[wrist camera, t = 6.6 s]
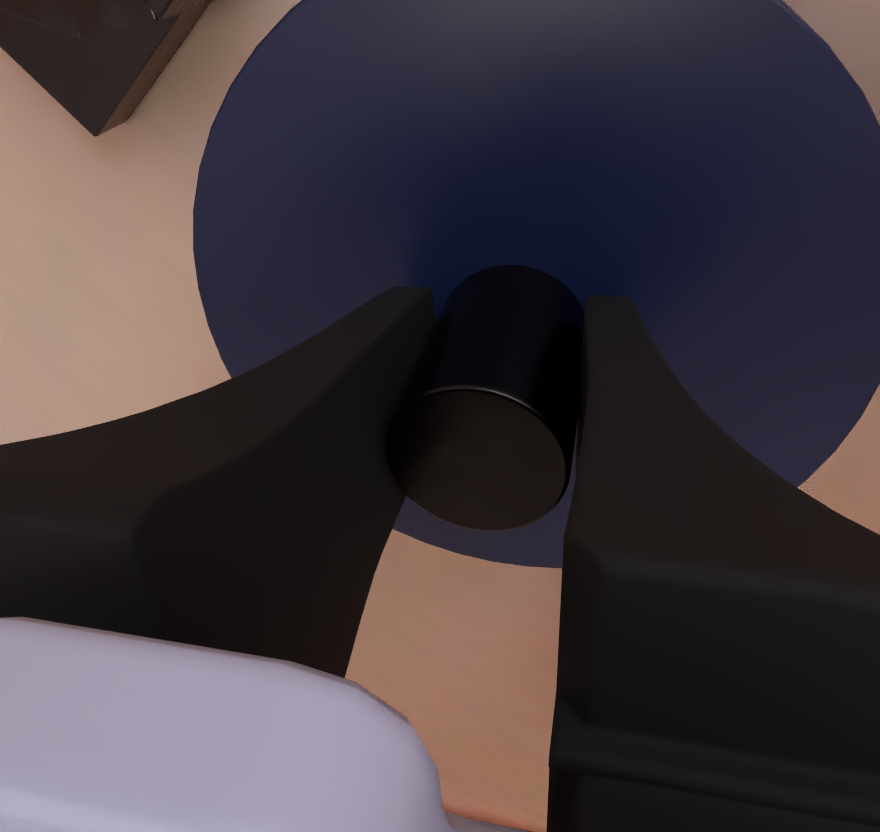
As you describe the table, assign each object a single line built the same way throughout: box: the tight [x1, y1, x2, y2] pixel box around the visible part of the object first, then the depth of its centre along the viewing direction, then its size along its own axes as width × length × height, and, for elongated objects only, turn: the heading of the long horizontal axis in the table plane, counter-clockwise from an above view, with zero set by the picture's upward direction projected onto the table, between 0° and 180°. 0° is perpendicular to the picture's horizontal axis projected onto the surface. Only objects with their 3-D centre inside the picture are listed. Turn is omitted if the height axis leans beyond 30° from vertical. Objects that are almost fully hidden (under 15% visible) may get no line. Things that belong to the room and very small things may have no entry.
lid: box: [193, 0, 880, 568], centre depth 11 cm, size 11×11×4 cm
